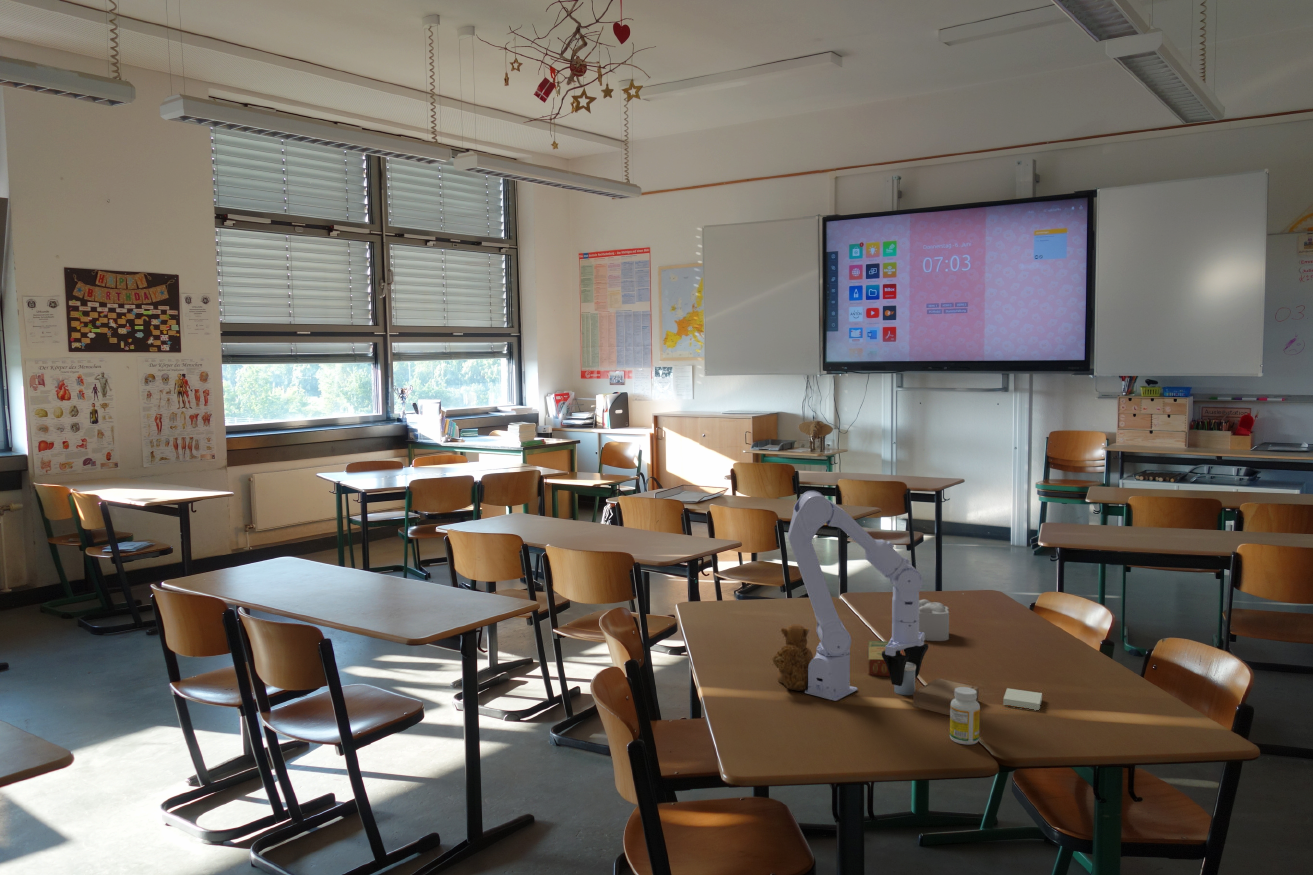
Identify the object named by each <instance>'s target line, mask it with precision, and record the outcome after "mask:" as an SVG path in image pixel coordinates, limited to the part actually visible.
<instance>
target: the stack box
mask: <svg viewBox="0 0 1313 875" xmlns="http://www.w3.org/2000/svg"><path fill="white" fill-rule="evenodd" d="M958 687H968V688H972V689H974V690H976V692H977V698H976V701H977V702H979V693H980V691H979V689H980V688H979V686H975V685H972V684H966V683H962V682H960V681H959V682H958V681H953V680H950V679H949V680H948V679H946V678H945V679H944V678H941V677H938V678H936V679H934V680H932V681H931V682H929V683H927V684H925V685H924V686H922V687H920V688H918V689H917V690H916V689H915V692H913V695H912V699H913V700H912V706H913V707H914V708H919V709H922V710H923V709H924V710H926V711H931V712H935V713H938V714H943V715H947V716H950V705H951V701H952V700H953V699H955V696H954V693H955V688H958Z"/></svg>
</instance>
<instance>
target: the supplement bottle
mask: <svg viewBox="0 0 1313 875" xmlns="http://www.w3.org/2000/svg"><path fill="white" fill-rule="evenodd" d="M954 696H955V699H953V700H952V701H951V705H950V715H949V717H950V718H949V738H950V739H951V741H952V742H955V743H956V744H960V745H966V746H967V745H968V746H969V745H975V744H977V743H979V741H980V724H981V723H980V718H981V717H980V716H981V714H980V713H981V706H980V703H979V701H976V698H977V692H976V690H974V689H972V688H968V687H958V688H955V693H954Z"/></svg>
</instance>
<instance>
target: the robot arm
mask: <svg viewBox="0 0 1313 875" xmlns="http://www.w3.org/2000/svg"><path fill="white" fill-rule="evenodd" d="M825 524H826V525H827V526H828V527H836V528H840V529H841V530H842V531H843V532H844V533H845V534H846V535H847V536H849V537H850V538H851V539H852V540H853V541H854V542H856V544H858V545H859V546H860V547H861V548H862V549H863V550H864V556H865V557H864V558H865V560H866V561H867V562H869V564H871V566H872V567H874V568H875V569H876V570H877V571H878V572H880V574H882V576H884V577H885V578H886V579H888V580H889V581H890V583H891V584H892V585H893V586H892V599H891V600H892V601H891V602H892V603H891V605H892V606H891V618H892V619H891V637H890V639H889V640H888V641H889V643H888V645H886V646H885V651H882V657H883V659H884V661H885V663H886V665H887V667H888V671H889V674H890V676H889V678H890V682H891V684H892V685H893V686H894V685H897V686H902V683H903V677H904V669H905V665H906V662H910V663H913V664H915V665H916V670H915V678H917V677H919V674H920V670H921V666H922V663H923V659H924V657H925V655H926V653H927V651H928V650H929V645H928V643H925V640H924V637H925V633H923V632H919V601H920V590H921V589H922V588H923V585H924V580H923V579H922V578H923V577H922V574H921V573H920V572H919V571H918V570H917V569H916V567H914V566H913V565H912V564H911V563H910V559H909V558H907V557H903V556H902V555H901V554H900V553H899V552H898V551H897V550H895V549H894V547H895V546H894V545H895V544H893V543H892V542H891V541H889V540H887V541H886V540H884V539H882V538H881V539H874V537H872V536H871V534H869V533H868V532H867V531H866V530H865V529H864V528H863V527H862V526H861V525H860V524H859V522H857V521H856V520H855V519H854V518H853V517H852V516H851V515H850V514H848V512H846V510H844V509H843V508H842V507H840V506H839V505H837V503H835V502H833V501H832V500H830V499H829V498H826V497H825V496H824V495H823V494H822V493H821V492H819V491H817V490H807V491H805V492H804V493H802V494H801V495H800V497H799V498H798V500H797V501H796V502H795V504H794V506H793V512H792V516H791V520H790V524H789V528H788V533H787V537H788V538H787V539H788V541H789V545H790V548H791V549H792V553H793V556H794V559H795V561H796V563H797V564H796V565H797V567H798V570H799V572H800V575H801V578H802V581H803V583H804V586H805V589H806V592H807V595H808V598H809V601H810V604H811V607H812V610H813V612H814V617H815V620H816V635H817V637H818V639H819V640H820V642H819V643H818V645H817V646H816V653H815V655H814V656H813V659H812V660H811V661H810V663H809V666H808V686H807V688H806V689H805V690H804V693H805V694H806V695H807V694H808V695H811V696H815V697H817V698H818V697H819V698H823V699H827V700H829V701H834V702H836V701H838V700H841V699H843V698H845V697H847V696H848V695H850V694H853V693H854V692H856V691H858V687H856V686H851V684H850V681H851V679H850V677H851V676H850V675H851V671H850V669H851V664H850V663H851V659H850V658H851V650H850V647H851V645H852V638H851V634H850V632H849V631H848V630H847V629H846V627H845V625H844V623H843V621H842V620H841V619H840V617H839V614H838V612H837V609H836V608H835V605H834V604H835V603H834V602H833V599H832V596H831V593H830V590H829V588H828V584H827V581H826V579H825V576H824V573H823V570H822V567H821V565H820V561H819V559H818V555H817V553H816V551H815V547H814V545H813V539H814V538H815V536H816V534H817V533H818V530H819V529H820V528H821V527H823V526H824V525H825ZM901 650H903V653H904V655H902V653H901V654H900V652H901Z"/></svg>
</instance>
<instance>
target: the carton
mask: <svg viewBox="0 0 1313 875" xmlns="http://www.w3.org/2000/svg"><path fill="white" fill-rule="evenodd" d="M889 641H890V640H888V641H887V640H868V648H867V658H868V660H867V662H868V664H867V665H868V666H867V668H868V670H867V671H868V676H881V677H882V676H883V677H890V674H889V671H888V667H887V665H886V663H885V661H884V659H883V657H882V651H885V646H886V645H888V643H889ZM901 653H902V655H905V653H904V649H903V650H901V652H900V654H901Z"/></svg>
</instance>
